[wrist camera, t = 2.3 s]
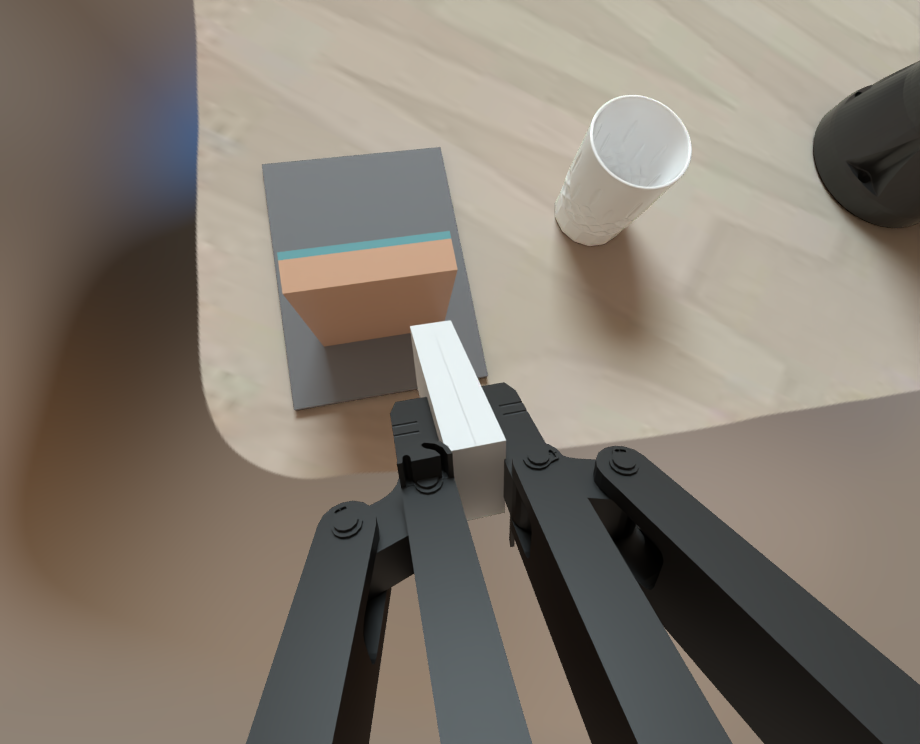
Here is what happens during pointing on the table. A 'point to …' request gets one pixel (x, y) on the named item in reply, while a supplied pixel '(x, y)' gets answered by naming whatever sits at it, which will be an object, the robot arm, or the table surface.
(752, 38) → the table surface
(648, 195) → the white cup
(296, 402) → the mat
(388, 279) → the tile
